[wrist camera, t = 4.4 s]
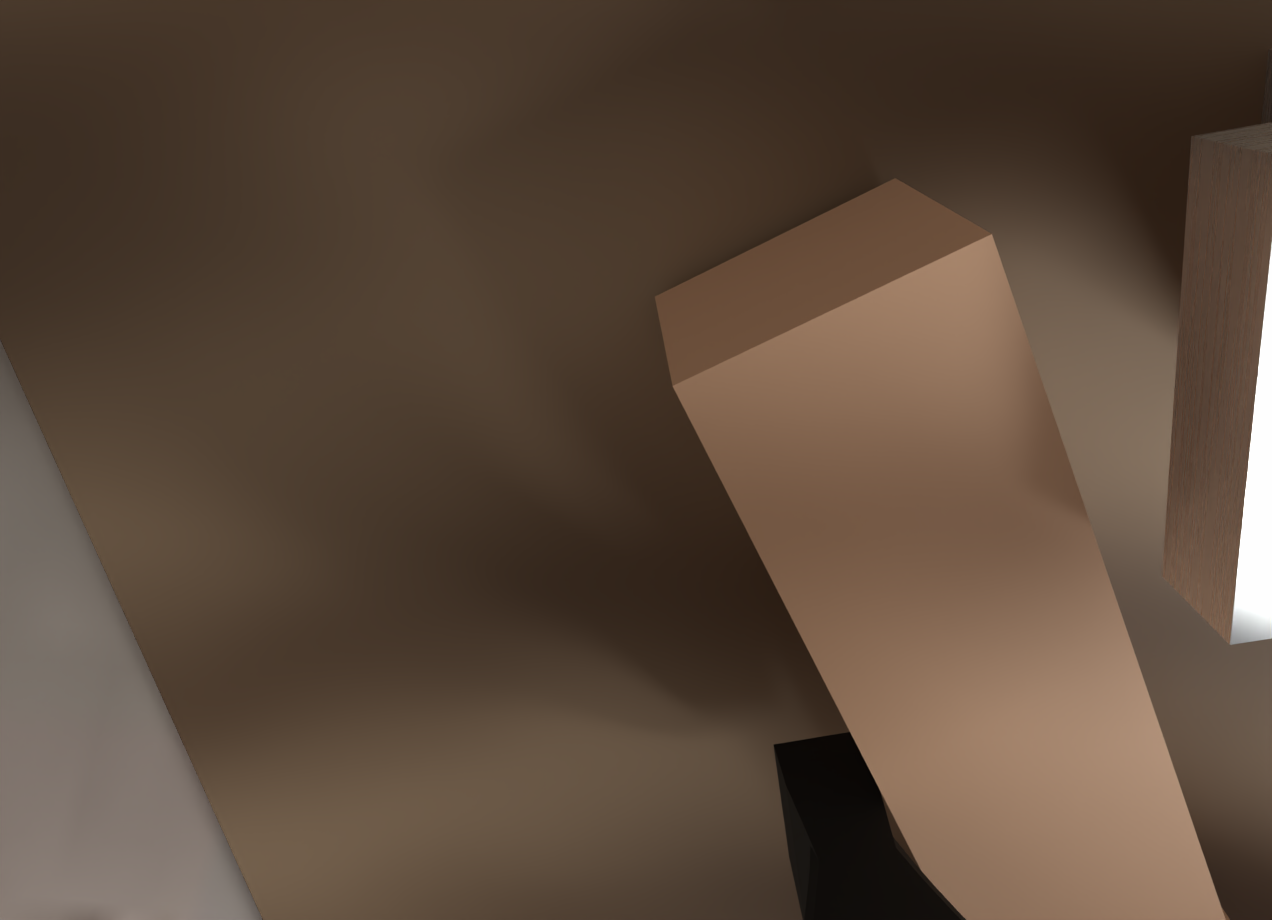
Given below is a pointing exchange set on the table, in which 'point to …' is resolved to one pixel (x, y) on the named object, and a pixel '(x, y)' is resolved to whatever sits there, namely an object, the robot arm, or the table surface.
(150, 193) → the walnut plate
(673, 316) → the pivot arm
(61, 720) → the table surface
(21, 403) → the table surface
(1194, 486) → the block
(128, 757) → the table surface
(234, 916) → the table surface
